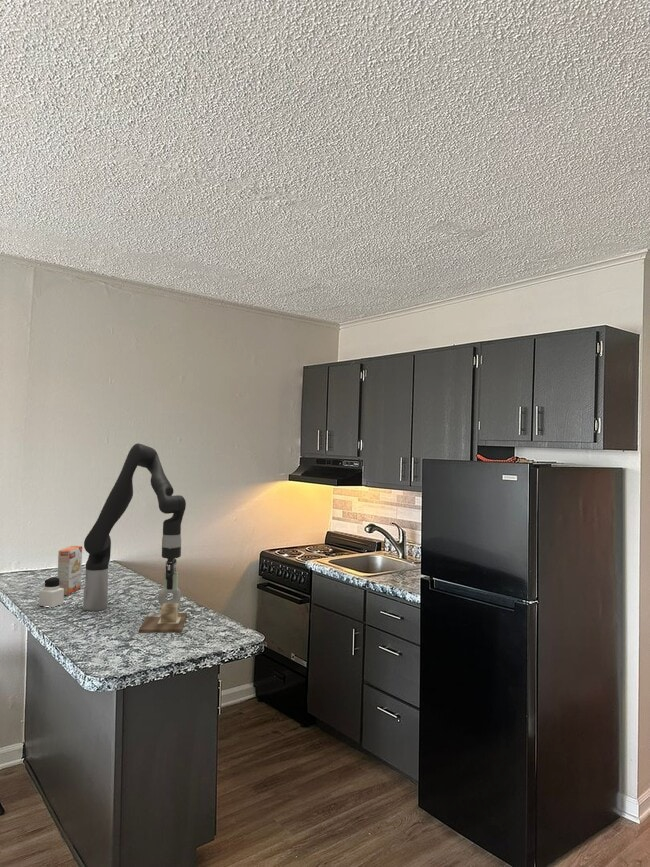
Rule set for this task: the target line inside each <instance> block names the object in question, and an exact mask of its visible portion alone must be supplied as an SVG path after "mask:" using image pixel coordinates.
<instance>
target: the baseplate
mask: <svg viewBox="0 0 650 867" xmlns="http://www.w3.org/2000/svg"><path fill="white" fill-rule="evenodd" d="M187 617H188V612H178V619H177V621H176V622H172V623H161V612H148V613H147V615H146V616H145V618H144V620H143V622H142V623H141V625H140V627H139V629H138V634H140V633H141V634H143V633H144V634H149V633H150V634H151V633H152V634H153V633H155V634H157V633H159V634H160V633H161V634H163V633H182V632H183V629H184V627H183V626H185V624H186V621H187ZM184 623H185V624H184Z"/></svg>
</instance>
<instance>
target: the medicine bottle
mask: <svg viewBox="0 0 650 867" xmlns="http://www.w3.org/2000/svg"><path fill="white" fill-rule="evenodd" d="M57 577H58V576H57ZM57 577H55V576H54V577H53V576H51V577H47V578H45V579H44V582H43V583H44V586H43V587H44V589H43V588H42V589H39V595H38V596H39V597H38V606H39V605H43V606H49V607H53V606H57V605H60V604H63V603H65V602H64V600H65V599H64V598H65V596H64V588H59V583H60V579H59V578H57ZM63 605H64V604H63ZM60 606H61V605H60ZM57 607H58V606H57Z"/></svg>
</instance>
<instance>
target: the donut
mask: <svg viewBox="0 0 650 867" xmlns="http://www.w3.org/2000/svg"><path fill="white" fill-rule="evenodd" d="M168 594H172V598H171V599H167V595H168ZM157 595H158V596H157V600H158V603H159V604H160V605H161V606H162V605H163V603H178V604H179V602H180V601H181V598H182V593H181V590H180V588H179V587H178V588H177V590H164V586H163V587H162V588H161V589H160V590H159V592H158V594H157Z"/></svg>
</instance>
